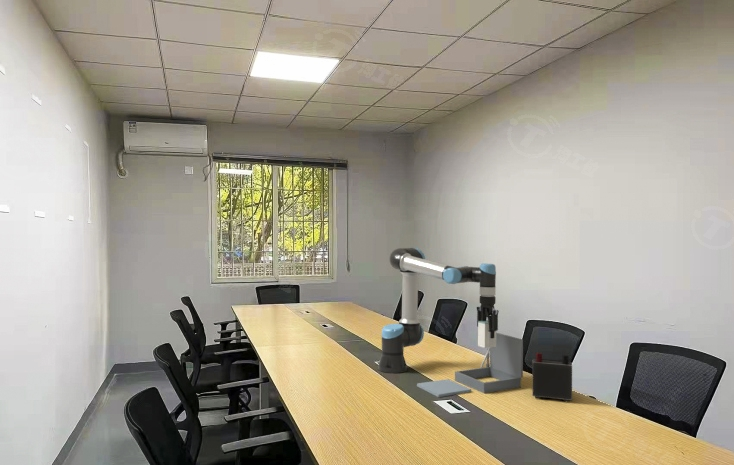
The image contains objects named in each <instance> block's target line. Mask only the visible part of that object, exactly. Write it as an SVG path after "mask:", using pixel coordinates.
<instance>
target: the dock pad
mask: <svg viewBox="0 0 734 465" xmlns="http://www.w3.org/2000/svg"><path fill="white" fill-rule="evenodd" d="M416 387H418V388H419V389H421V390H423V391H426V392H428V393H429V394H431V395H433V396H435V397H437V398H442V397H449V396H453V395H454V396H455V395H461V394H466V393H467V394H468V393H472V388H470V387H468V386H466V385H464V384H461V383H459V382H457V381H455V380H454V381H453V380H451V379H448V378H445V379H439V380H433V381H425V382H418V383H416Z"/></svg>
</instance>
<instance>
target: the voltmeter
mask: <svg viewBox="0 0 734 465" xmlns="http://www.w3.org/2000/svg"><path fill="white" fill-rule="evenodd" d="M561 358H562V360H555V359H543V353H542V352H535V359H532V396H533V397H535V399H536V398H540V399H541V398H550V399H559V400H563V402H565V401H567V403H568V401H569V402H570V401H571V400H573V363H572V362H569V354H562V356H561Z"/></svg>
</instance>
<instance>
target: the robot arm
mask: <svg viewBox="0 0 734 465" xmlns="http://www.w3.org/2000/svg"><path fill="white" fill-rule="evenodd" d="M389 263H390V265H391V267H392V268H394V269H395V270H399V273H400V274H401V275H402V286H401V287H402V288H401V290H402V292H401V294H402V295H401V318H400V319H399V321H398V323H390V324H386V325H384V326H383V327H382V329H381V355H380V359H379V362H378V365H377V366H378V370H379V371H380V372H383V373H387V374H388V373H389V374H397V373H399V374H400V373H403V372H406V371H407V370H408V368H407V366H408V365H407V362H406V358H405V356H404V349H405V348H407V347H414V346H417V345H418V344H420V343H421V342H422V341H423V340H424V335H425V333H424V328H423V326H422V325H421V322H420V320H419V319H418V303H419V302H418V301H419V300H418V297H419V296H418V295H419V293H418V292H419V275H424V276H427V277H430V278H435V279H439V280H442V281H445V282H446V283H447V284H449V285H450V284H452V285H456V284H464V283H479V304H480V306H477V307H476V313H477V314H476V317H477V318H476V327H477V328H478V321H486V320H488V322H489V331H488V345H494V332H495V331H496V332H498V330H499V325H498V323H499V320H498V319H499V310H498V309H495V304H496V291H497V290H496V288H497V287H496V281H497V277H496V276H497V270H496V265H495V264H494V263H480V264H479V267H475V266H466V265H465V266H459V267H455V266H451V265H447V264H444V263H439V262H435V261H431V260H428V259H426V256H425V253H424V252H423V251H422V250H421V249H419V248H414V247H402V248H401V247H400V248H396V249H393V250H392V252H391V253H390V255H389Z"/></svg>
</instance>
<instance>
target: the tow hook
mask: <svg viewBox="0 0 734 465" xmlns="http://www.w3.org/2000/svg"><path fill="white" fill-rule="evenodd" d="M487 351H488V348H486V352H487ZM485 363H486V364H485V367H490V353H489V354H488V356H487V358H486V362H485Z"/></svg>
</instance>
